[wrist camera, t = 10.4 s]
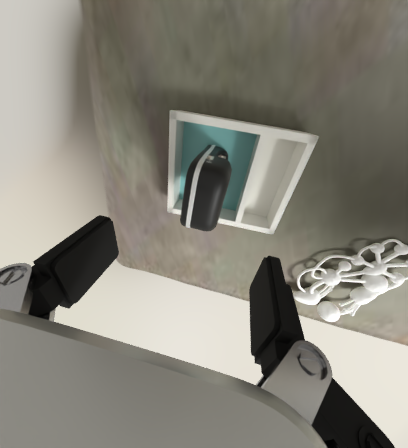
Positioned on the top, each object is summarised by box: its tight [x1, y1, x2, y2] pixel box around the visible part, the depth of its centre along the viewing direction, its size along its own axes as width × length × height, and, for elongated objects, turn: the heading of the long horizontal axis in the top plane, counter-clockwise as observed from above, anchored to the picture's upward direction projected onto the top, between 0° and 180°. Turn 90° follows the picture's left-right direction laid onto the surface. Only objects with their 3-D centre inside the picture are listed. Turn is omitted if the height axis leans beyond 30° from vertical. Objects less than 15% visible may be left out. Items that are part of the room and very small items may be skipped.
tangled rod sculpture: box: [293, 239, 408, 322], centre depth 30 cm, size 19×14×4 cm
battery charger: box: [180, 145, 232, 231], centre depth 20 cm, size 7×4×11 cm, turn 169°
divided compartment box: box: [167, 110, 319, 234], centre depth 24 cm, size 16×13×4 cm
